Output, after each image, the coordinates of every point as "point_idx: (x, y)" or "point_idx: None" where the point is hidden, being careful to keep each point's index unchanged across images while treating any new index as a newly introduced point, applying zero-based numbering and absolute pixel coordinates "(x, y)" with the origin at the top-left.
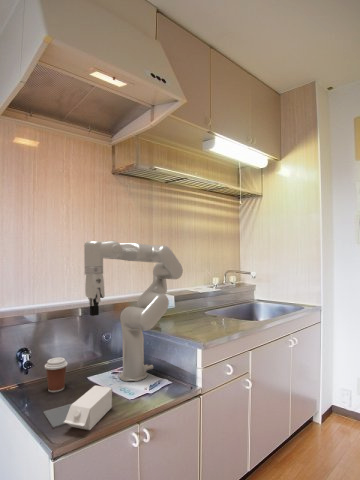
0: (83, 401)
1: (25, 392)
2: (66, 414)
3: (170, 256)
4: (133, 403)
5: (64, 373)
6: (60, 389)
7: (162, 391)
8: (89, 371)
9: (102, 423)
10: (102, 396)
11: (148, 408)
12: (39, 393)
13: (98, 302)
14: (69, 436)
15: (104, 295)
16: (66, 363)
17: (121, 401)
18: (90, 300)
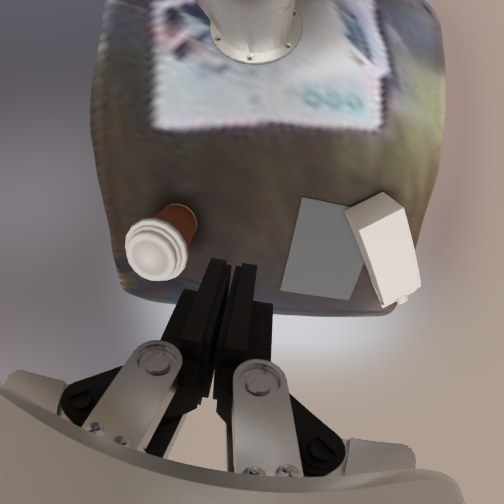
0: (395, 285)
1: None
2: (329, 268)
3: None
4: (399, 141)
5: (181, 225)
6: (195, 221)
7: (401, 53)
8: (121, 106)
9: None
10: (413, 247)
11: (437, 141)
12: None
13: (328, 430)
14: None
15: (463, 501)
16: (168, 230)
17: (371, 151)
18: (167, 454)
